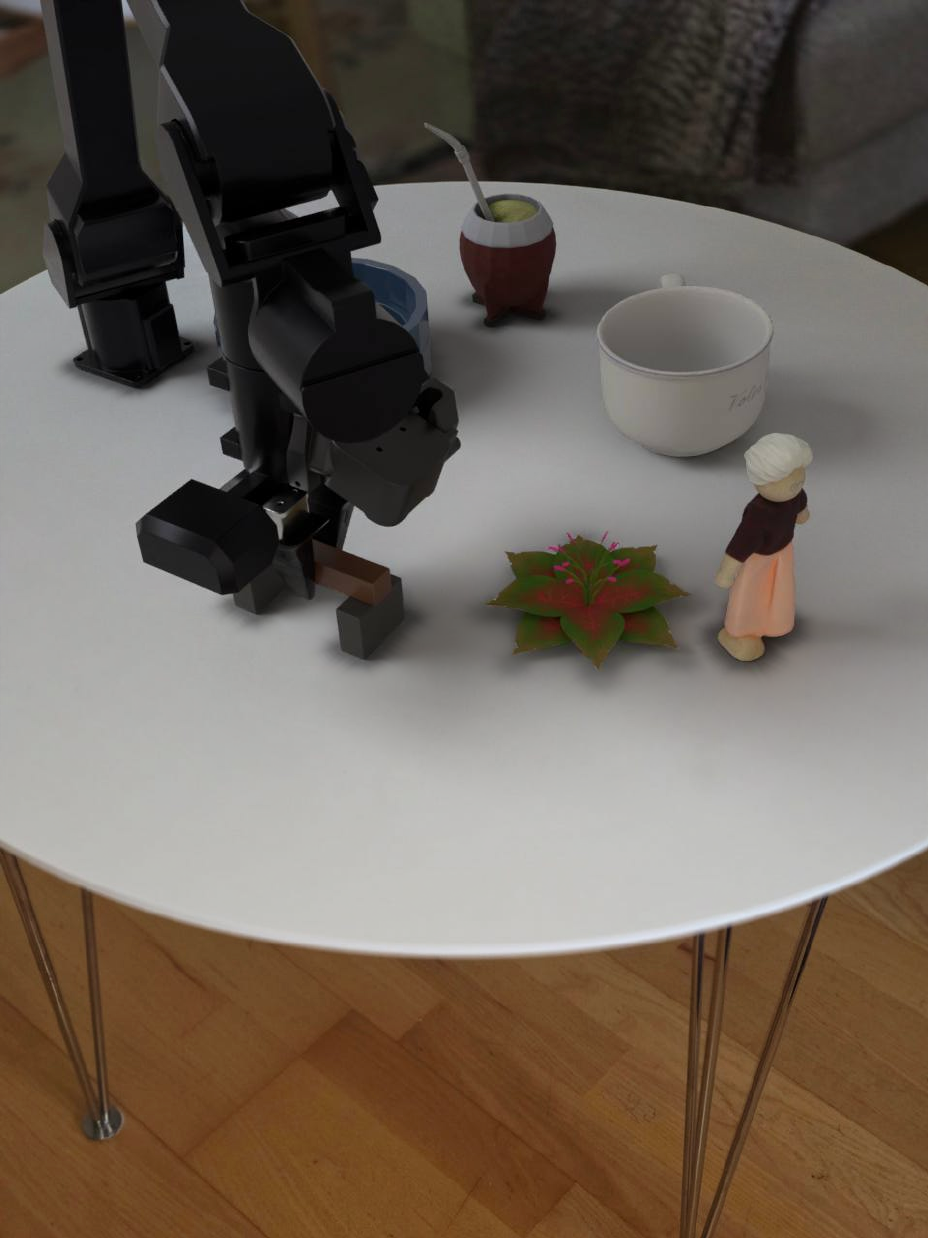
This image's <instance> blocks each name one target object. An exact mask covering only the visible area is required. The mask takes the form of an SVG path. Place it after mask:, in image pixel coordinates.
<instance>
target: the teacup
mask: <svg viewBox="0 0 928 1238" xmlns="http://www.w3.org/2000/svg"><path fill="white" fill-rule="evenodd" d="M773 336H774V323H773V320H772V318H771V316H770V314H768V312H767V311H766V309H765V308H764V307H763V306H762V305H761V304H759V303H758V302H756V301H755V300H754V299H752V298H750V297H748V296H746V295H743V294H742V293H739V292H735V291H732V290H728V289H725V288H720V287H712V286H704V285H703V286H701V285H700V286H699V285H686V280H685V277H684V275H683V274H681V273H676V272H674V273H667V274H666V273H665V274H664V275H662V276H661V277H660V279H659V285H658V287H657V288H654V289H650V290H645V291H643V292H638V293H635V294H633V295H631V296H628V297H626V298H624V299H622V300H620V301H618V303H616V304H615V305H613V306H612V307H611V308H609V309H608V310H607V311H606V312H605V313H604V314H603V316H602V318H601V319H600V321H599V323H598V326H597V330H596V339H597V343H598V346H599V366H600V382H601V392H602V398H603V399H602V400H603V405H604V407H605V411H606V414H607V415H608V416H607V417H608V418H609V420H610V421H611V423H612V424H613V427H615V429H617V431H619V432H620V433H621V434H622V435H623V436H624V437H626V438H627V439H628V440H630V441H632V442H633V443H636V444H637V445H639V446H641V447H642V448H645V450H648V451H651V452H653V453H656V454H659V455H662V456H663V455H664V456H669V457H677V458H679V457H680V458H681V457H683V458H685V457H695V456H701V455H705V454H708V453H712V452H714V451H716V450H719V449H721V448H722V447H724V446H726V445H728V444H730V443H732V442H733V441H736V440H737V439H738V438H740V437H741V436H743V435H744V434H745V433H746V432H747V431H749V429H750V428H751V427H752V426H753V425H754V423H756V420H757V419H758V418H759V415H760V413H761V410H762V409H763V405H764V401H765V397H766V392H767V385H768V377H769V366H770V353H771V352H770V351H771V343H772V340H773Z"/></svg>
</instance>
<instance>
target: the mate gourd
mask: <svg viewBox="0 0 928 1238" xmlns="http://www.w3.org/2000/svg"><path fill="white" fill-rule="evenodd" d="M423 125H424V128H425V129H427V130H429V131H430V132H431V133H433V134H435V135H436V136H437V137H439V138H440V139H442V140H443V141H444V142H445V143H447V144H448V145H449V146H450V147H452V148H453V149H454V155H455V157H456V158H457V161H458V162H459V163H460V164H462V167H463V169H464V172H465V174H466V177H467V179H468V182H469V184H470V187H471V189H472V191H473V194H474V197H475V198H476V201H477V202H475V203H474V204H473V205H472V206H471V207H470V209H469V211H468V212H467V213H466V215H465V217H464V219H463V222H462V225H461V228H460V229H461V231H460V236H459V254H460V255H459V256H460V260H461V264H462V267H463V270H464V272H465V274H466V276H467V279H468V280H469V282H470V284H471V287H472V288H473V289H474V293H472V294H471V298H472V302H473V303H477V304H479V305H483V306H484V307H485V310H486V317H484V318H483V326H485V327H489V328H493V327H494V326H496V325H497V324H498V323H499V322H501V321H502V320H503V319H504V318H505V317H507V316H508V315H510V314H517V315H520V316H523V317H527V318H531V319H535V320H540V321H542V320H545V318H546V316H547V310H546V309H543V307H544V304H545V300H546V297H547V294H548V289H549V285H550V275H551V274H552V269H553V265H554V261H555V258H556V251H557V235H556V232H555V227H554V221H553V219H552V218H551V216H550V215H549V213H548V211H547V210H546V208H545V207H544V205H543V204H542V203H541V202H540V201H539V200H538V199H535V198H533V197H532V196H529V195H525V194H520V193H499V194H498V193H497V194H492V195H489V196H487V197H485V195H484V194H483V191H482V189H481V186H480V183H479V181H478V179H477V176H476V173H475V171H474V168H473V166H472V164H471V161H470V159H471V157H470V154H469V151H467V148H466V147H465V145H462V143H461V142H460V141H459V140H458V139H457V138H455V137H454V136H453V135H452V134H450V133H448V132H446V131H444V130H442V129H440V128H438V127H436V126H434V125H433V124H430V123H427V122H424V123H423Z"/></svg>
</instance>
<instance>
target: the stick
mask: <svg viewBox="0 0 928 1238" xmlns="http://www.w3.org/2000/svg"><path fill="white" fill-rule="evenodd" d="M313 550H314V564H315V578H316V581H315V584H318V585H320V586H323V587H325V588H328V589H331V590H333V591H335V592H338V593H341V594H343V595H345V596H348V597H349V596H350V597H353V598H355V599H358V600H360V601H363V602H365V603H368V604H370V605H373V606H377V605H378V604H379V603H380V602H381V601H382V600H383V599H384V598H385V597H386V596H387V595H388V594H389V593H390V592H391V591H392V586H391V576H390V574H391V568H390V567H388V566H385V565H382V564H379V563H377V562H374V561H372V560H369V559H367V558H364V557H361V556H359V555H356V554H353V553H351V552H348V551H345V550H344V549H343V550H340V549H338V548H335V547H333V546H330V545H327V544H325V543H322V542H319V541H317V540H314V539H313Z"/></svg>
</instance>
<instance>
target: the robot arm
mask: <svg viewBox="0 0 928 1238" xmlns="http://www.w3.org/2000/svg"><path fill="white" fill-rule="evenodd" d="M125 1H126V3H127V6H128V8H129V10H130V12H131V14H132V16H133V18H134V21H135V23H136V25H137V27H138V29H139V32H140V33H141V36H142V38H143V40H144V42H145V45H146V47H147V48H148V51H149V53H150V55H151V58H152V59H153V62H154V65H155V68H156V70H157V72H158V81H157V83H158V84H157V85H158V86H157V102H156V103H157V104H156V105H157V107H156V126H155V130H154V131H155V132H154V138H155V139H154V140H155V148H156V154H157V158H158V163H159V167H160V170H161V173H162V176H163V179H164V181H165V184H166V187H167V190H168V192H169V194H170V195H169V194H167V192H165V191H164V189H163V188H162V186H161V185H160V182H159V181H158V179H157V177H156V176H155V175H154V172H153V171H152V170H151V167H150V166H149V164H148V163H147V161H146V159H144V158H143V157H142V156H141V153H140V144H139V137H138V128H137V120H136V111H135V102H134V101H135V100H134V93H133V86H132V85H133V84H132V77H131V68H130V61H129V60H130V58H129V51H128V41H127V34H126V24H125V16H124V6H123V0H39V3H40V9H41V15H42V21H43V26H44V31H45V32H44V33H45V39H46V45H47V51H48V57H49V63H50V68H51V75H52V79H53V85H54V92H55V97H56V103H57V110H58V116H59V122H60V128H61V134H62V139H63V146H64V153H63V155H62V156H61V158H60V160H59V162H58V163H57V165H56V167H55V170H54V171H53V172H52V174H51V176H50V178H49V180H48V182H47V183H46V188H45V189H46V197H47V204H48V211H49V212H48V213H49V218H50V221H46V222H44V223H43V224H44V225H43V240H42V257H43V260H44V263H45V267H46V270H47V273H48V276H49V280H50V282H51V285H52V286H53V287H54V289H55V290H56V292H57V293H58V294H59V296H60V297H61V299H62V300H63V302H64V303H65V305H66V307H67V308H68V309H69V310H71V309H74V308H75V309H76V308H77V312H78V315H79V320H80V324H81V328H82V332H83V336H84V340H85V343H86V348H87V349H86V350H84V351H83V352H81V353H80V354H78V355H76V356H74V358H73V359H72V362H73V365H74V367H75V368H78V369H81V370H83V371H86V372H89V373H92V374H95V375H98V376H100V377H104V378H107V379H110V380H112V381H115V382H118V383H121V384H124V385H126V386H130V387H132V388H138V387H141V386H143V385H145V384H146V383H147V382H149V381H151V380H152V379H153V378H155V377H156V376H158V375H159V374H161V373H162V372H164V371H165V370H167V369H168V368H170V367H171V366H173V365H175V363H177V362H178V361H180V360H182V359H183V358H184V357H186V356H188V355H189V354H191V352H193V351H195V349H196V345H195V341H193V340H191V339H189V338H185V337H182V336H180V333H179V327H178V322H177V321H178V320H177V317H176V312H175V307H174V304H173V303H171V300H170V295H169V289H168V285H167V282H169V281H173V280H182V279H184V278H186V277H185V268H186V259H185V258H186V257H185V242H184V227H185V229H186V231H187V234H188V235H189V238H190V240H191V243H192V244H193V246H194V249H195V251H196V253H197V255H198V258H199V260H200V262H201V264H202V266H203V268H204V270H205V272H206V273H207V275H208V281H209V287H210V292H211V297H212V303H213V308H214V314H215V315H216V321H217V326H218V332H219V338H220V343H221V350H222V357H221V358H220V357H219V358H218V359H217V360H215V361H213V362H212V363H211V364H209V365H207V367H206V371H207V378H208V384H209V386H211V387H215V388H218V389H220V390H222V391H223V390H224V391H225V392H228V391H229V392H228V394H229V400H230V405H231V406H230V407H231V411H232V416H233V422H234V426H233V427H232V428H230V429H229V430H228V431H227V432H224V434H223V435H221V436H220V437H219V440H220V448H221V451H222V455H224V456H226V457H230V458H233V459H235V460H238V461H240V462H242V463H243V468H244V469H243V470H241V471H240V472H239V473H237V474H236V475H235V476H233V477H232V478H231V479H230V480H229V481H227V482H226V483H225V484H223V485H222V486H221V487H219V488H217V487H215V486H211V485H209V484H206V483H204V482H201V481H199V480H196V479H193V478H190V479H189V480H188V481H186V482H185V483H184V484H183V485H182V486H180V487H178V488H177V489H176V490H174V492H172V493H171V494H170V495H167V497H165V498H164V499H163V500H162V501H161V502H159V503H158V504H157V505H155V506H154V507H153V508H151V509H150V510H149V511H148V512H146V513H145V514H144V515H143V516H141V517H140V518H139V520H137V521H136V522H135V531H136V538H137V542H138V546H139V550H140V555H141V558H142V562H143V563H144V564H146V565H148V566H151V567H154V568H156V569H158V570H161V571H163V572H166V573H167V574H170V575H173V576H175V577H177V578H179V579H182V580H185V581H187V582H189V583H192V584H194V585H196V586H199V587H201V588H203V589H206V590H208V591H211V592H213V593H215V594H218V595H220V596H226V595H233V593H239V592H240V591H241V590H242V589H243V588H244V587H246V586H247V585H248V584H249V583H250V582H251V581H252V580H254V579H255V578H256V577H257V576H258V575H259V574H260V573H262V572H263V571H264V570H265V569H266V568H267V567H268V566H270V565H272V566H273V568H274V569H275V570H276V571H277V573H278V574H279V575H280V576H281V577H282V579H283V580H284V581H285V582H286V583H287V585H288V586H287V587H289V589H290V590H291V591H292V592H293V593H294V594H295V595H296V596H297V597H299V598H300V599H304V600H306V601H312V600H313V599H314V598H315V596H316V583H315V581H316V578H315V564H314V550H313V539H314V540H317V541H319V542H322V543H325V544H327V545H330V546H333V547H335V548H338V549H340V550H343V551H344V547H345V546H344V545H345V543H346V538H347V535H348V530H349V526H350V522H351V519H352V515H353V513H354V509H355V508H357V509H358V510H360V512H362V513H364V515H365V517H366V518H367V519H368V520H370V521H371V522H372V523H374V524H376V525H377V526H380V527H385V528H392V527H396V526H399V525H400V524H401V523H402V522H403V521H404V520H406V519H407V517H408V516H409V514H410V513H412V511H413V510H414V509H416V508H417V507H418V506H419V505H420V504H421V503H422V502H423V501H424V500H425V499H426V498H429V497H430V496H431V495H432V494H433V493H434V492H435V491H436V488H437V485H438V482H439V479H440V476H441V475H442V474H441V473H442V471H443V468H444V465H445V463H446V462H447V461H449V459H450V458H452V457H453V456H454V455H455V454H456V453H457V452H458V451H459V450H460V449H461V447H462V443H461V440H460V439H459V437H458V434H459V430H458V426H459V422H460V421H459V413H458V408H457V400H456V395H455V391H454V389H453V388H451V387H450V386H448V385H446V384H445V383H444V382H442V381H440V380H439V379H438V378H436V377H431V375H430V373H429V374H428V373H427V372H426V371H425V369H424V360H423V355H422V354H421V353H420V350H419V348H418V346H417V343H416V341H415V339H414V338H413V337H412V336H411V335H410V334H409V332H408V331H407V330H406V329H405V328H404V327H403V326H402V325H401V324H400V323H398V322H397V321H396V320H395V319H394V318H393V317H392V316H391V315H390V314H389V313H388V312H387V311H386V310H385V309H384V308H382V307H381V306H380V305H379V304H378V303H377V302H376V301H375V296H374V293H373V291H372V290H371V289H370V288H369V287H368V286H367V285H366V284H365V283H364V282H362V281H361V280H360V279H357V278H355V277H354V273H353V268H352V259H351V258H352V252H354V251H358V250H362V249H365V248H369V247H373V246H375V245H376V246H377V245H379V244H381V243H382V234H381V230H380V227H379V224H378V221H377V219H376V216H375V212H374V210H375V207H376V206H377V204H378V202H379V196H378V193H377V191H376V189H375V187H374V184H373V182H372V180H371V178H370V175H369V173H368V169H367V168H366V165H365V162H364V160H363V158H362V156H361V154H360V150H359V148H358V146H357V143H356V141H355V139H354V136H353V134H352V131H351V129H350V127H349V124H348V122H347V120H346V117H345V115H344V114H343V113H342V111H341V110H340V109H339V107H338V105H337V102H336V100H335V99H334V96H333V95H332V93H331V92H330V91H329V90H328V89H327V88H325V87H322V85H321V84H320V82H319V80H318V79H317V77H316V75H315V74H314V71H312V69H311V67H310V66H309V64H308V63H307V62H308V61H306V59H305V58H304V55H303V54H302V52H301V51H300V49H299V47H298V46H297V44H296V42H295V41H294V39H293V38H291V37H290V36H289V35H287V34H286V33H284V32H283V31H281V30H279V29H278V28H276V27H275V26H273V25H272V24H269V23H268V22H266V21H264V20H263V19H262V18H260V17H258V16H256V15H255V14H253V13H251V12H250V11H249V9H248V7H247V6H246V4H245V2H244V0H125ZM330 191H331V192H332V194H333V196H334V198H335V200H336V202H337V205H338V206H336V207H332V208H328V209H324V210H321V211H316V212H313V213H309V214H305V215H302V216H299V215H296V214H295V213H294V212H292V211H290V210H289V209H288V208H293V207H295V206H301V205H303V204H307V203H311V202H316V201H319V200H322V199H324V198H326V197H327V196H328V195H329V192H330ZM170 196H171V197H170Z"/></svg>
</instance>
